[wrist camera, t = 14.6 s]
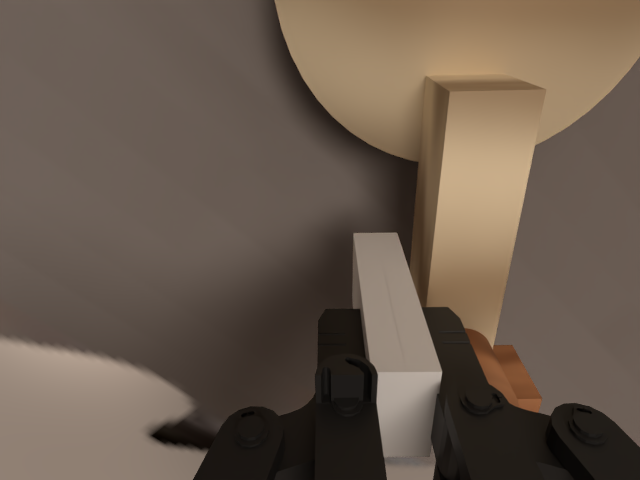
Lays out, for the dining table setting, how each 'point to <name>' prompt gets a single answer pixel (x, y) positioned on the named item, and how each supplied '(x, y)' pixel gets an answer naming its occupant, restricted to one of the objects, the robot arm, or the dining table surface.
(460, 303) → the crank
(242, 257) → the dining table surface
